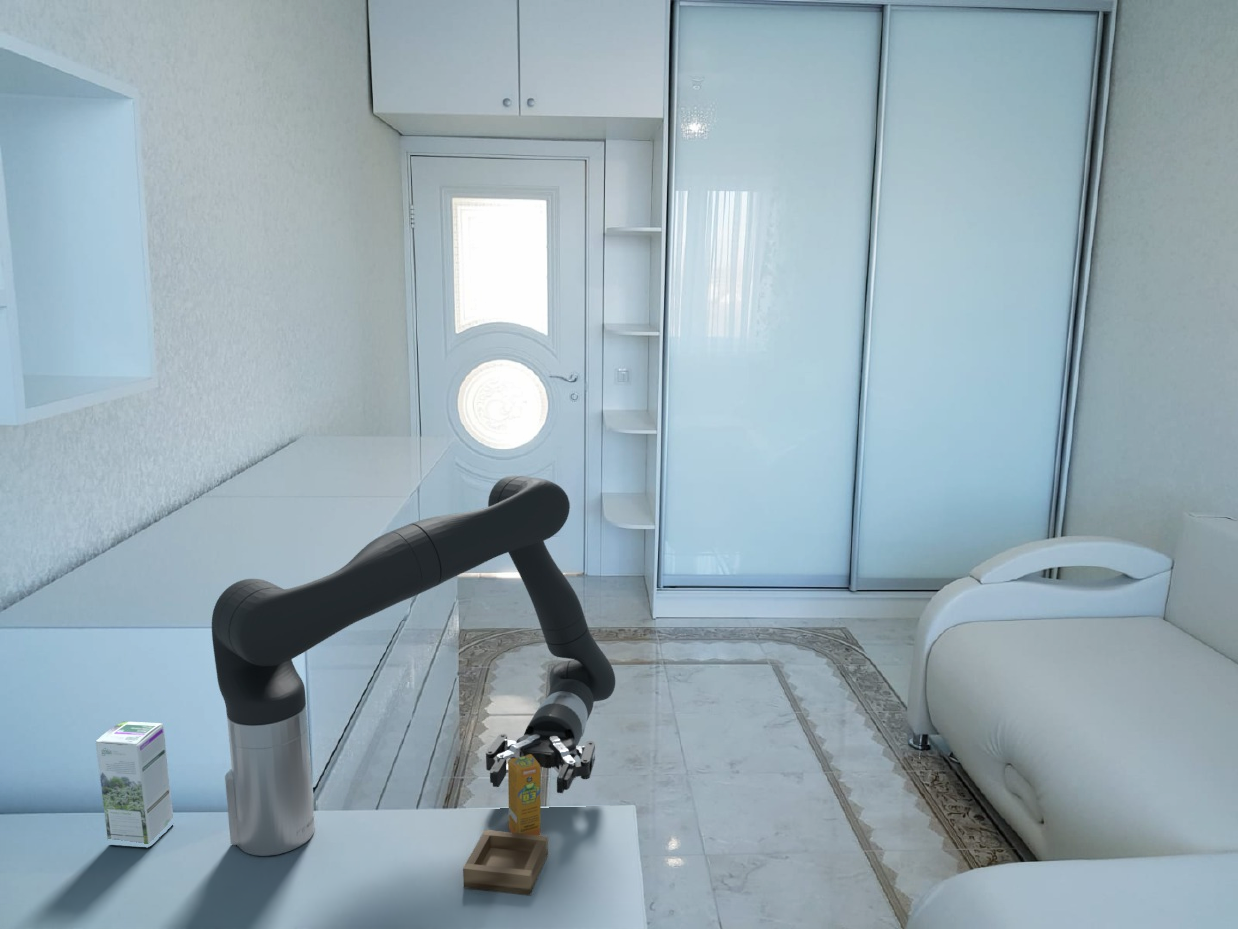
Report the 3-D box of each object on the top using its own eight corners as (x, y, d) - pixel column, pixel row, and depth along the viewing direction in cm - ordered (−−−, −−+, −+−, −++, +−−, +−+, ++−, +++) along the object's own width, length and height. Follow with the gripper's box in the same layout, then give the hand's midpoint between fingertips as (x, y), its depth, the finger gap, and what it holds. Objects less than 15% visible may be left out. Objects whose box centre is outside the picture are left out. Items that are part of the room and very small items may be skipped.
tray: (463, 888, 110) (462, 868, 109) (485, 848, 117) (484, 829, 117) (530, 895, 108) (529, 875, 108) (547, 854, 116) (547, 836, 115)
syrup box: (176, 824, 123) (165, 720, 120) (148, 851, 117) (137, 742, 114) (135, 822, 123) (123, 718, 121) (105, 848, 118) (93, 740, 115)
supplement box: (518, 844, 118) (516, 770, 116) (508, 830, 121) (506, 758, 119) (542, 836, 120) (541, 763, 118) (532, 823, 123) (530, 752, 121)
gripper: (509, 698, 137) (472, 752, 121) (605, 706, 135) (581, 761, 119) (510, 746, 138) (474, 805, 123) (606, 755, 136) (581, 816, 120)
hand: (527, 783), depth 121 cm, fingers open, 8 cm apart
